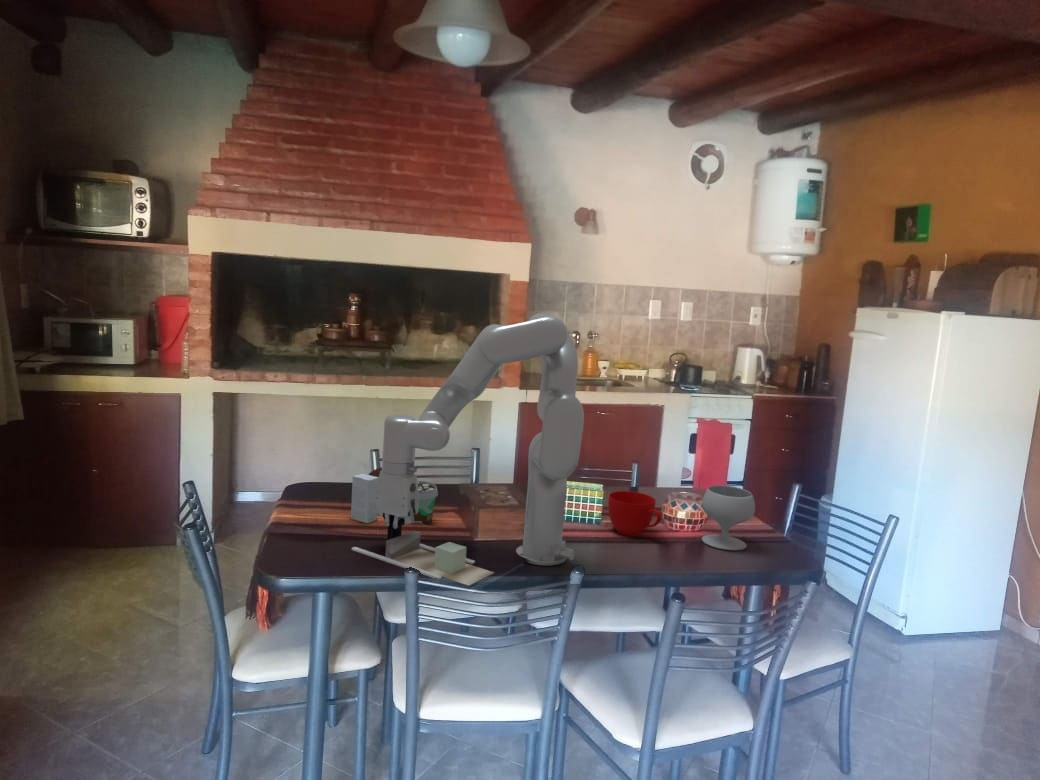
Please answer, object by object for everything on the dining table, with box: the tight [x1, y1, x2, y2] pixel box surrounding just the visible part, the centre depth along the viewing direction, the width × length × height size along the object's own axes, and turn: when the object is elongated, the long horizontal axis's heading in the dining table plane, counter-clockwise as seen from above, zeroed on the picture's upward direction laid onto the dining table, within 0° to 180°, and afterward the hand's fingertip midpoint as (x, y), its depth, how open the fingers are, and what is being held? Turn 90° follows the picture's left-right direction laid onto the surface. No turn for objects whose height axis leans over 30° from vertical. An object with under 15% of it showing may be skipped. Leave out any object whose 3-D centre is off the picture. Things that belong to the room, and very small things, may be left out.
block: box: [434, 541, 467, 574], centre depth 173 cm, size 5×5×5 cm
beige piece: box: [384, 530, 495, 589], centre depth 175 cm, size 24×10×5 cm, turn 58°
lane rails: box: [351, 543, 476, 580], centre depth 180 cm, size 26×14×2 cm, turn 58°
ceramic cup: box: [607, 490, 662, 537], centre depth 212 cm, size 13×17×10 cm
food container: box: [412, 480, 439, 526], centre depth 207 cm, size 12×6×10 cm, turn 179°
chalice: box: [701, 484, 756, 551], centre depth 209 cm, size 14×14×15 cm
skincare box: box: [350, 473, 379, 524], centre depth 206 cm, size 6×4×12 cm
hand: (393, 542), depth 182 cm, fingers closed
